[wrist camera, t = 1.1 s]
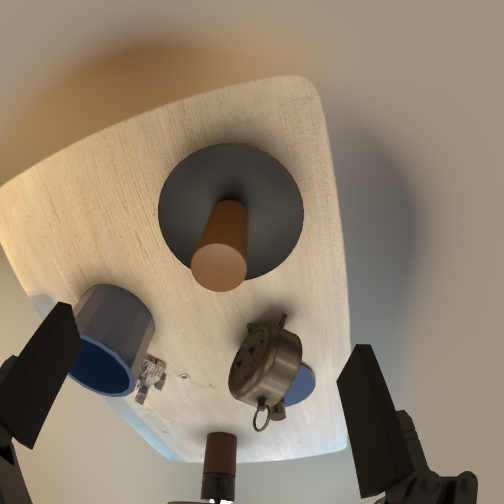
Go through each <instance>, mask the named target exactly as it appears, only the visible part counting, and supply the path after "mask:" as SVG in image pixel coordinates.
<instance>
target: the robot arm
mask: <svg viewBox="0 0 504 504" xmlns="http://www.w3.org/2000/svg"><path fill="white" fill-rule="evenodd" d="M82 347H83V344H82V341H81V338H80V334H79V331H78V328H77V324H76V321H75V317H74V314H73V310H72V306H71V304H67V303H63V302H58V303H57V304H56V305H55V307H54V308H53V309H52V311H51V312H50V313H49V314H48V316H47V317H46V318H45V320H44V321H43V322H42V324H41V325H40V326H39V328H38V329H37V331H36V332H35V333H34V335H33V336H32V338H31V339H30V340H29V342H28V343H27V344H26V346H25V347H24V349H23V350H22V352H21V353H20V355H19V356H18V357H17V356H14V355H12V356H11V357H9V358H8V359H7V360H6V361H4V363H3V364H2V366H1V367H0V504H33V503H32V501H31V498H30V496H29V493H28V490H27V488H26V485H25V482H24V479H23V476H22V473H21V470H20V467H19V463H18V460H17V457H16V453H15V449H14V445H13V443H12V441H11V439H12V437H14V438H15V439H16V440H17V441H18V442H19V443H20V444H22V445H24V446H26V447H27V448H29V449H31V450H32V449H33V447H34V444H35V442H36V439H37V437H38V435H39V432H40V430H41V428H42V426H43V424H44V421H45V419H46V417H47V415H48V412H49V410H50V409H51V406H52V404H53V402H54V400H55V398H56V396H57V394H58V392H59V390H60V388H61V386H62V384H63V382H64V380H65V378H66V376H67V375H68V373H69V371H70V369H71V367H72V365H73V363H74V362H75V360H76V358H77V356H78V354H79V353H80V351H81V349H82ZM336 382H337V386H338V390H339V395H340V399H341V403H342V407H343V412H344V416H345V420H346V425H347V429H348V434H349V439H350V443H351V448H352V453H353V458H354V463H355V468H356V473H357V479H358V484H359V489H360V495H361V498H367V497H372V496H376V495H378V494H380V493H382V492H384V491H385V494H386V496H384V497H382V498H381V499H379V500H377V501H376V502H375V503H374V504H378V503H380V502H381V503H380V504H476V501H477V491H478V481H477V478H476V476H475V474H473V473H472V472H470V471H465V472H463V473H461V474H460V475H458V476H457V477H441V476H439V475H438V474H436V473H435V472H433V471H431V470H430V469H429V467H428V465H427V462H426V459H425V456H424V452H423V449H422V446H421V444H420V441H419V439H418V435H417V432H416V431H415V426H414V424H413V421H412V418H411V417H410V416H409V415H408V414H407V412H406V411H405V410H401V411H396V410H395V407H394V404H393V402H392V399H391V396H390V393H389V391H388V388H387V385H386V383H385V380H384V377H383V375H382V372H381V370H380V367H379V364H378V362H377V359H376V357H375V354H374V352H373V350H372V347H371V345H367V344H356V346H355V348H354V350H353V351H352V353H351V355H350V357H349V359H348V361H347V363H346V365H345V367H344V368H343V370H342V372H341V374H340V376H339V377H338V379H337V381H336Z"/></svg>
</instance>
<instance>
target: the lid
mask: <svg viewBox="0 0 504 504" xmlns="http://www.w3.org/2000/svg"><path fill="white" fill-rule="evenodd" d="M158 220H159V225H160V229H161V232H162V235H163V238H164V240H165V242H166V244H167V245H168V247H169V249H170V250H171V252H172V253H173V254H174V255H175V256H176V258H177V259H179V260H180V261H181V262H182V263H183V264H184V265H185V266H187V267H188V268H189V269H191V271H192V274H193V276H194V278H195V279H196V281H197V282H198V283H199V284H200V285H201V286H203V287H204V288H206V289H209V290H211V291H216V292H225V291H230V290H232V289H234V288H236V287H238V286H239V285H240V284H241V283H242V282H243V281H244V280H249V279H253V278H257V277H259V276H262V275H264V274H266V273H268V272H270V271H272V270H273V269H275V268H276V267H277V266H279V265H280V264H281V263H282V262H283V261H284V260H285V259H286V258H287V257H288V256H289V255H290V253H291V252H292V251H293V249H294V247H295V246H296V244H297V242H298V240H299V237H300V234H301V231H302V226H303V220H304V209H303V202H302V198H301V194H300V191H299V189H298V187H297V184H296V182H295V181H294V179H293V177H292V176H291V174H290V173H289V172H288V171H287V169H286V168H285V167H284V166H283V165H282V164H281V163H280V162H279V161H278V160H276V159H275V158H273V157H272V156H271V155H269V154H267V153H265V152H263V151H261V150H259V149H257V148H254V147H251V146H247V145H242V144H230V143H229V144H218V145H213V146H209V147H206V148H203V149H200V150H198V151H196V152H194V153H193V154H191V155H189V156H188V157H187V158H185V159H184V160H182V161H181V162H180V163H179V164H178V165H177V166H176V167H175V168H174V169H173V171H172V172H171V173H170V174H169V176H168V178H167V179H166V181H165V183H164V185H163V188H162V190H161V194H160V198H159V204H158Z"/></svg>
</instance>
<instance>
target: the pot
mask: <svg viewBox="0 0 504 504" xmlns="http://www.w3.org/2000/svg"><path fill="white" fill-rule="evenodd" d="M73 314H74V317H75V321H76V324H77V328H78V331H79V334H80V338H81V341H82V344H83V347H82V349H81V351H80V353H79V354H78V356H77V358H76V360H75V362H74V363H73V365H72V367H71V369H70V371H69V373H68V375H69V376H70V377H71V378H72V379H73V380H75V381H76V382H78V383H79V384H80V385H82V386H83V387H85V388H87V389H89V390H91V391H94V392H96V393H98V394H101V395H106V396H110V397H122V396H127V395H128V394H130V393H132V392H133V391H134V389H135V386H136V383H137V380H138V378H139V375H140V372H141V369H142V366H143V363H144V361H145V358H146V355H147V352H148V350H149V347H150V344H151V342H152V338H153V335H154V331H155V326H154V321H153V318H152V316H151V314H150V312H149V310H148V309H147V308H146V306H145V305H144V304H143V303H142V302H141V301H140V300H139V299H138V298H137V297H135V296H134V295H133V294H131V293H130V292H128V291H126V290H124V289H122V288H119V287H117V286H113V285H97V286H94V287H92V288H90V289H89V290H87V291H86V292H85V294H84V295H83V296H82V298H81V299H80V300H79V302H78V303H77V305H76V306H75V307H74V309H73Z"/></svg>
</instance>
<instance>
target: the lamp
mask: <svg viewBox="0 0 504 504" xmlns="http://www.w3.org/2000/svg"><path fill="white" fill-rule="evenodd" d="M236 450H237V438H236V437H235V436H233V435H231V434H228V433H222V432H216V433H211V434H209V435H208V436H207V442H206V450H205V460H204V469H203V479H202V489H201V500H203V501H206V502H211V503H199V502H169V503H168V504H212V503H214V504H228V503H234V499H235V474H236Z"/></svg>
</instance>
